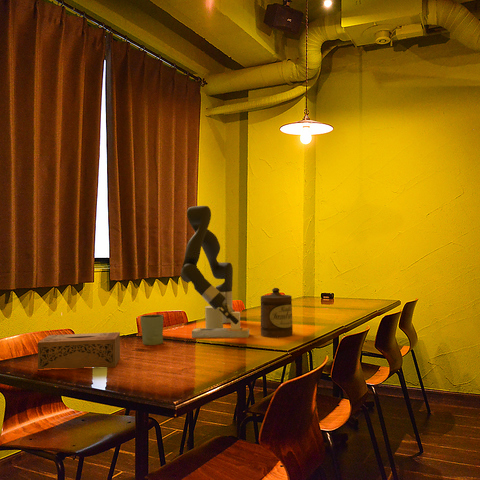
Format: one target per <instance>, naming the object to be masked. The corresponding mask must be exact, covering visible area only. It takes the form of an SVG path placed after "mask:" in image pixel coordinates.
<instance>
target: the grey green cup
mask: <svg viewBox="0 0 480 480" xmlns="http://www.w3.org/2000/svg"><path fill="white" fill-rule="evenodd" d="M139 318H140V319H139V320H140V327H141V333H142V334H141V338H142V344H143V345H145V346H156V345H158V346H159V345H161V344H163V343H164V336H163V335H164V334H163V332H164V314H157V313H156V314H146V315H145V314H144V315H141V316H139Z"/></svg>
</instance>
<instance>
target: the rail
mask: <svg viewBox="0 0 480 480" xmlns="http://www.w3.org/2000/svg"><path fill="white" fill-rule="evenodd" d="M249 336H250V327H240V330H231V327H223V328H206V327H204V328H202V327H200V328H199V327H198V328H193V330H191V338H195V339H196V338H202V339H203V338H205V339H206V338H207V339H208V338H213V339H216V338H222V339H223V338H227V339H228V338H231V339H232V338H233V339H234V338H238V339H239V338H243V339H244V338H247V339H248V338H249Z"/></svg>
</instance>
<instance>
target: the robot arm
mask: <svg viewBox="0 0 480 480" xmlns="http://www.w3.org/2000/svg"><path fill="white" fill-rule="evenodd" d="M186 211H187V212H186V217H187V220H188V222H189V225H190V226H191V228H192V229H193V231H194V234H193V235H192V237H191V238H190V239H189V240H188V242H187V243H186V244H187V245H186V246H185V247H186V248H185V253H184V259H183V263H182V266H181V270H180V278H181V280H182V281H183V282H185V283H190V282H191V283H192V284H193V287H194V290H195V291H196V292H197V293H198V294H199V295H200V296H201V297H202V298H203V300H204V301H205V302H207V304H208V305H209V306H212V307H213V308H214V309H215V310H216V309H217V308H218V307H219V308H220V309H219V311H221V312H222V313H223V324H231V321H232V322H233V323H234V324H237V323H238V322H239V320H238V319H236V318H235V317H234V316H233V314H232V313H231V312H236V310H235V309H233V281H234V280H233V276H234V275H233V274H234V271H233V270H234V269H233V268H234V267H233V265H232V263H231V262H219V261H218V259H217V258H218V257H219V254H220V251H221V244H220V242H219V239H218V237H217V236H216V234H214V232H212V231H211V230H209V229H208V228H209V226H210V223H211V219H212V211H211V208H210V206H208V205H195V206H190V207H188V209H187V210H186ZM201 250H202V251H203V252H204V254H205V256H206V257H205V258H206V259H207V261H208V263H209V267H210V270H211V275H212V276H213V278H214V279H216V280H224V281H223V283H221V284H218V285H216V286H213V284H212V283H210V281H209V280H208V279H206V278H205V276H204V274H203V273H202V271H201V270H200V269H199V268H198V267H197V265H198V263H199V259H200V255H201V252H202V251H201ZM240 320H241V317H240Z"/></svg>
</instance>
